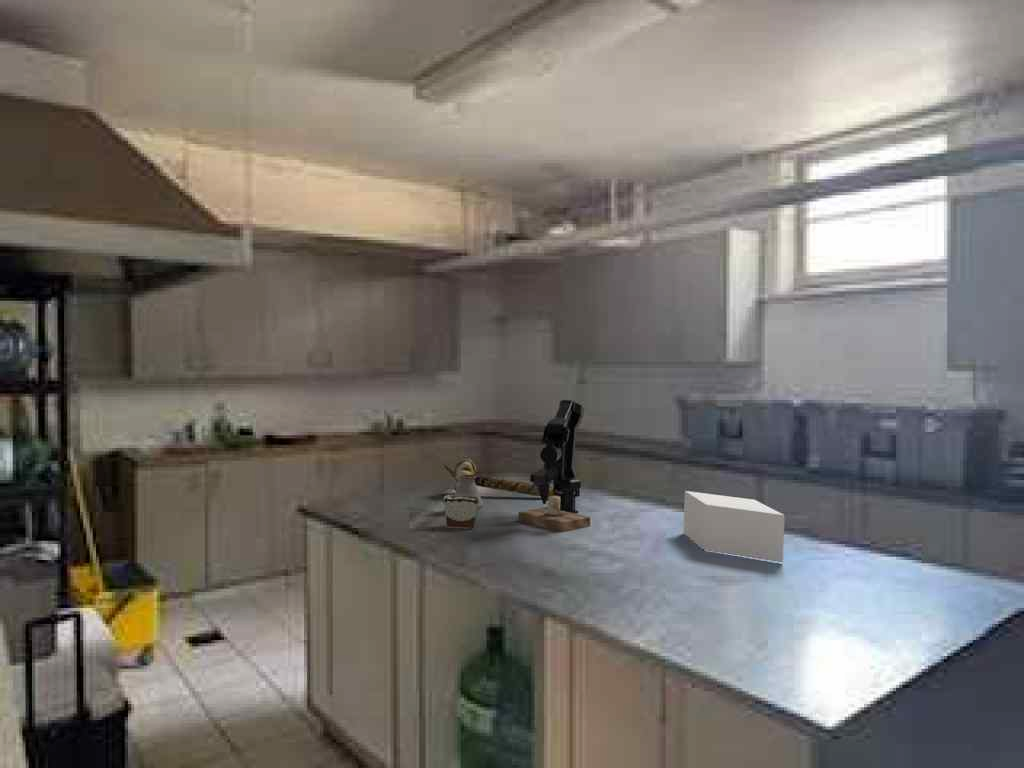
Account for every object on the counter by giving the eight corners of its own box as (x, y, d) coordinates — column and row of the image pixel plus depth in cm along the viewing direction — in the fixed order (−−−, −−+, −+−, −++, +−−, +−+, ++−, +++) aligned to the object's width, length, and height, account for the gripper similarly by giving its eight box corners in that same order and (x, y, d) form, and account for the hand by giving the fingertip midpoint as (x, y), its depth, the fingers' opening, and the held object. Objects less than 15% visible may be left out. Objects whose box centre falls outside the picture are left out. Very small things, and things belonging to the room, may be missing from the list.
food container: (481, 524, 250) (482, 494, 250) (479, 528, 244) (479, 498, 244) (445, 523, 251) (445, 493, 251) (441, 527, 245) (442, 496, 245)
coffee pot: (489, 512, 269) (490, 471, 268) (462, 516, 262) (463, 473, 261) (456, 502, 286) (456, 463, 285) (430, 505, 279) (430, 465, 278)
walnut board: (546, 515, 267) (547, 507, 266) (589, 526, 252) (590, 517, 252) (518, 520, 257) (518, 512, 257) (561, 532, 242) (561, 522, 242)
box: (706, 531, 250) (707, 488, 249) (806, 561, 215) (808, 512, 215) (659, 537, 240) (661, 492, 239) (757, 569, 205) (759, 518, 205)
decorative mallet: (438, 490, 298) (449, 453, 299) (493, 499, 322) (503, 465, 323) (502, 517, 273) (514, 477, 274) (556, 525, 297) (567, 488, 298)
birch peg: (553, 521, 257) (554, 495, 257) (562, 523, 254) (563, 497, 254) (545, 523, 255) (545, 496, 254) (553, 525, 252) (554, 498, 251)
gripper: (519, 458, 255) (517, 504, 255) (559, 465, 241) (558, 513, 242) (542, 456, 262) (540, 500, 263) (582, 462, 249) (581, 509, 249)
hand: (554, 506), depth 254 cm, fingers open, 9 cm apart
